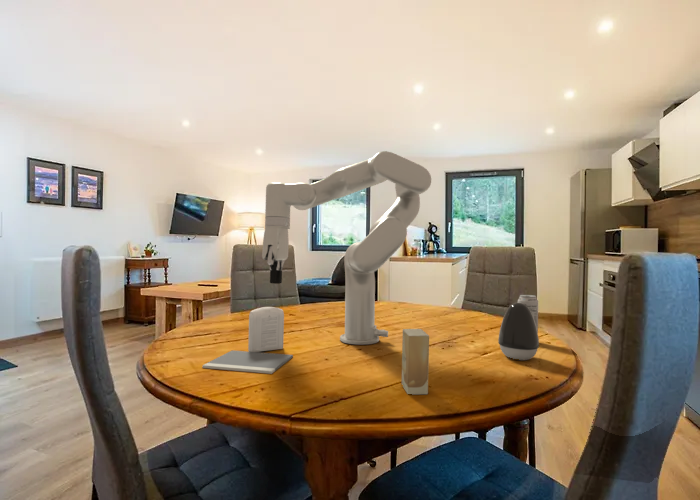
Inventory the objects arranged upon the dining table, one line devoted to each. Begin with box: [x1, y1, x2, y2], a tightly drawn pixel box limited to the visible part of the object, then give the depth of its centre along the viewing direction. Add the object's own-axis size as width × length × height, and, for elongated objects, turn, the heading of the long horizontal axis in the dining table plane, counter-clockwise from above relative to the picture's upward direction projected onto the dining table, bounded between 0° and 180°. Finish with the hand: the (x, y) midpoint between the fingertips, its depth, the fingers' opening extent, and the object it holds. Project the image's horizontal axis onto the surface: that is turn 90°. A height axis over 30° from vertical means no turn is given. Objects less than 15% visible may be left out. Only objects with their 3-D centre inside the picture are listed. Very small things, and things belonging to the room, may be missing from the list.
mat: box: [202, 350, 294, 375], centre depth 97 cm, size 18×14×1 cm
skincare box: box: [401, 328, 430, 395], centre depth 80 cm, size 6×4×12 cm
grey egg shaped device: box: [497, 302, 540, 361], centre depth 104 cm, size 10×10×15 cm
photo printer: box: [247, 306, 285, 353], centre depth 109 cm, size 10×4×12 cm, turn 123°
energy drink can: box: [517, 294, 539, 334], centre depth 122 cm, size 6×6×15 cm
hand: (275, 283), depth 116 cm, fingers closed
